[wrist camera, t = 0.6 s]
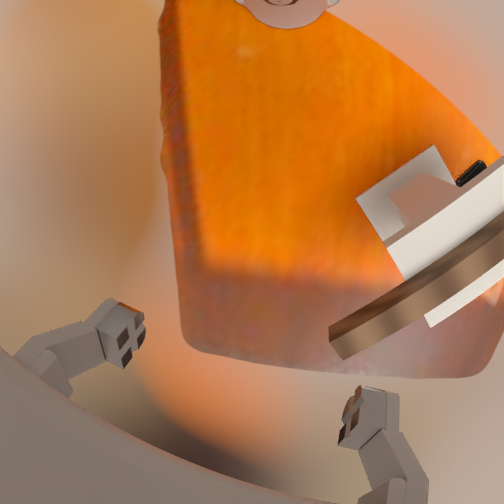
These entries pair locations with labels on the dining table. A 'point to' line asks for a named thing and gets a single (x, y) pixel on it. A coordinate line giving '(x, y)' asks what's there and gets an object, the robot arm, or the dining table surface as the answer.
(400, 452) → the robot arm
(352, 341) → the walnut bar
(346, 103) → the dining table surface
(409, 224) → the pedestal
